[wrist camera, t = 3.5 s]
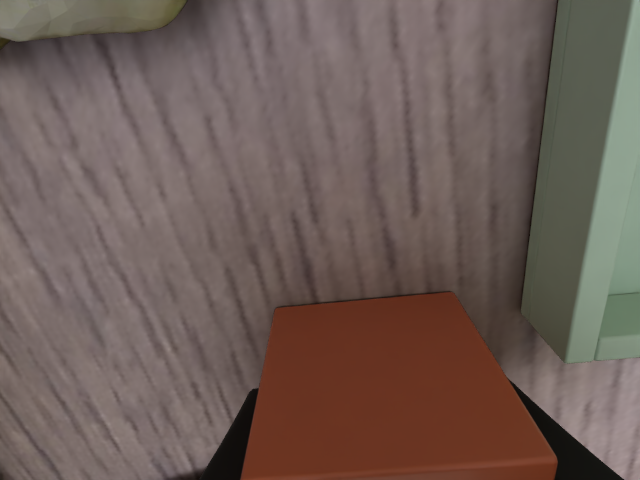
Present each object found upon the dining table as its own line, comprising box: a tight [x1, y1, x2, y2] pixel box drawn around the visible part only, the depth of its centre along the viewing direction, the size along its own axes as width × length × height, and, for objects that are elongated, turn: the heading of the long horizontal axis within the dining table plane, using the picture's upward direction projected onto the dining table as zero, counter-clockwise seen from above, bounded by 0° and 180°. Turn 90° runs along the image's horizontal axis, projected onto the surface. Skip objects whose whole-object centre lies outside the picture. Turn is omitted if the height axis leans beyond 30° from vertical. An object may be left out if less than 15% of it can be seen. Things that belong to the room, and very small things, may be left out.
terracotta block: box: [240, 292, 558, 480], centre depth 8 cm, size 4×4×4 cm
